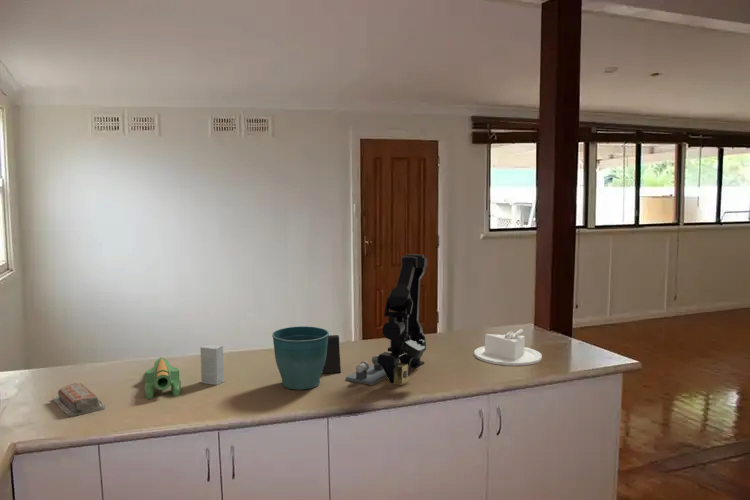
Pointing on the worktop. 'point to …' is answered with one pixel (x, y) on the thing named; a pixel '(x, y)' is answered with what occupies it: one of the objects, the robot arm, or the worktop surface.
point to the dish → (507, 350)
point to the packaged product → (77, 400)
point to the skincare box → (212, 364)
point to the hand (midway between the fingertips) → (398, 379)
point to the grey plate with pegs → (368, 373)
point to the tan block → (401, 374)
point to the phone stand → (332, 356)
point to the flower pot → (300, 355)
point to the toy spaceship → (162, 378)
